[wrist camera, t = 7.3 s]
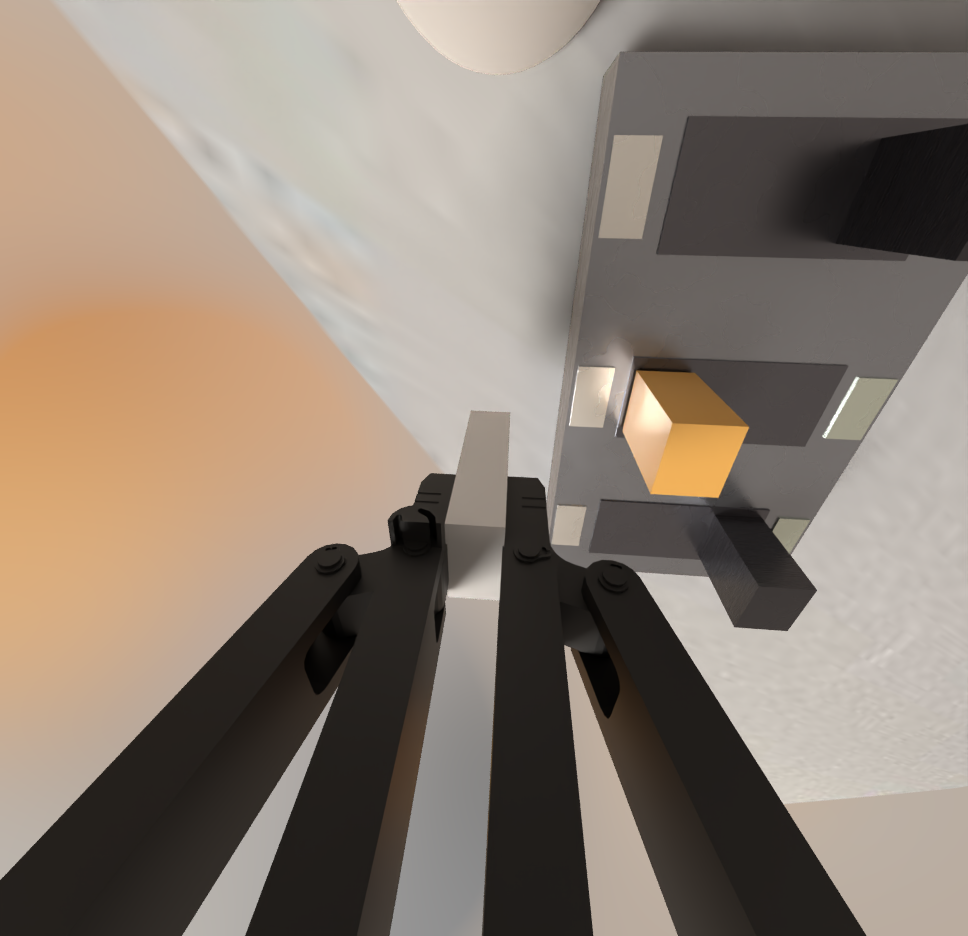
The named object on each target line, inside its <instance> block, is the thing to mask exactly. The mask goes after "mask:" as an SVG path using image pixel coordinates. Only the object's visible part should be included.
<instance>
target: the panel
mask: <svg viewBox="0 0 968 936" xmlns="http://www.w3.org/2000/svg"><path fill="white" fill-rule="evenodd" d="M967 274H968V52H620V53H619V54H618V56H617V57H616V59H615V60H614V61H613V63H612V64H611V66H610V67H609V69H608V70H607V72H606V73H605V75H604V76H603V82H602V90H601V97H600V105H599V112H598V120H597V128H596V135H595V143H594V150H593V158H592V165H591V173H590V180H589V188H588V195H587V203H586V210H585V218H584V225H583V233H582V240H581V248H580V255H579V263H578V270H577V278H576V285H575V293H574V300H573V308H572V315H571V323H570V330H569V338H568V345H567V353H566V360H565V368H564V375H563V383H562V390H561V398H560V405H559V413H558V421H557V428H556V436H555V443H554V451H553V458H552V466H551V473H550V481H549V488H548V496H547V503H546V506H547V516H548V527H549V538H550V543H551V547H552V548H553V550H554V552H555V553H556V554H557V555H558V556H560V557H561V558H563V559H564V560H566V561H568V562H570V563H572V564H575V565H578V566H581V567H584V568H587V567H589V566H590V565H591V564H592V563H593V562H596V561H600V560H613V561H617V562H620V563H623V564H625V565H626V566H628V567H630V568H631V569H633V570H634V571H635V572H645V573H660V574H675V575H690V576H705V577H709V578H710V580H711V582H712V584H713V586H714V588H715V590H716V592H717V594H718V596H719V598H720V600H721V602H722V604H723V606H724V608H725V610H726V612H727V613H728V615H729V617H730V619H731V621H732V623H733V625H734V627H739V628H753V629H767V630H781V631H788V629H789V628H790V627H791V625H792V624H793V623H794V621H795V620H796V619H797V617H798V616H799V614H800V613H801V612H802V610H803V609H804V608H805V606H806V605H807V603H808V602H809V601H810V599H811V598H812V597H813V595H814V594H815V593H816V591H817V589H816V588H815V587H814V586H813V584H812V583H811V582H810V580H809V579H808V578H807V576H806V575H805V574H804V572H803V571H802V570H801V568H800V567H799V566H798V564H797V563H796V562H795V561H794V559H793V558H792V557H791V554H792V552H793V551H794V549H795V547H796V546H797V544H798V543H799V541H800V539H801V538H802V536H803V535H804V533H805V531H806V530H807V528H808V527H809V525H810V524H811V522H812V520H813V519H814V517H815V516H816V514H817V512H818V511H819V509H820V508H821V506H822V504H823V503H824V501H825V500H826V498H827V497H828V495H829V493H830V492H831V490H832V489H833V487H834V485H835V484H836V482H837V481H838V479H839V477H840V476H841V474H842V473H843V471H844V469H845V468H846V466H847V465H848V463H849V462H850V460H851V458H852V457H853V455H854V454H855V452H856V450H857V449H858V447H859V446H860V444H861V442H862V441H863V439H864V438H865V436H866V435H867V433H868V431H869V430H870V428H871V427H872V425H873V423H874V422H875V420H876V419H877V417H878V415H879V414H880V412H881V411H882V409H883V408H884V406H885V404H886V403H887V401H888V400H889V398H890V396H891V395H892V393H893V392H894V390H895V388H896V387H897V385H898V384H899V382H900V380H901V379H902V377H903V376H904V374H905V373H906V371H907V369H908V368H909V366H910V365H911V363H912V361H913V360H914V358H915V357H916V355H917V353H918V352H919V350H920V349H921V347H922V346H923V344H924V342H925V341H926V339H927V338H928V336H929V334H930V333H931V331H932V330H933V328H934V326H935V325H936V323H937V322H938V320H939V319H940V317H941V315H942V314H943V312H944V311H945V309H946V307H947V306H948V304H949V303H950V301H951V299H952V298H953V296H954V295H955V293H956V291H957V290H958V288H959V287H960V285H961V284H962V282H963V280H964V279H965V277H966V276H967ZM636 371H661V372H686V373H695V374H696V375H698V376H699V377H700V378H701V379H702V380H703V381H704V382H705V383H706V384H707V385H708V386H709V387H710V388H711V389H712V390H713V391H714V392H715V393H716V394H717V395H718V396H719V397H720V398H721V399H722V400H723V401H724V402H725V403H726V404H727V405H728V406H729V407H730V408H731V409H732V410H733V411H734V412H735V413H736V414H737V415H738V416H739V417H740V418H741V419H742V420H743V421H744V422H745V423H746V424H747V425H748V426H749V429H748V431H747V433H746V436H745V438H744V440H743V443H742V445H741V447H740V449H739V452H738V454H737V456H736V459H735V461H734V463H733V465H732V468H731V470H730V472H729V475H728V477H727V479H726V481H725V484H724V486H723V488H722V491H721V493H720V495H719V497H718V498H713V497H696V496H678V495H660V494H650V492H649V489H648V487H647V485H646V483H645V480H644V478H643V476H642V474H641V471H640V469H639V467H638V465H637V462H636V460H635V458H634V456H633V453H632V451H631V449H630V447H629V444H628V442H627V440H626V438H625V435H624V433H623V431H622V430H623V426H624V421H625V417H626V413H627V409H628V405H629V400H630V396H631V392H632V388H633V384H634V379H635V375H636Z"/></svg>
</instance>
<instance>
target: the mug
mask: <svg viewBox="0 0 968 936" xmlns="http://www.w3.org/2000/svg"><path fill="white" fill-rule="evenodd" d="M396 1H397V2H398V4H399V6H400V7H401V9H402V10H403V12H404V13H405V15H406V16H407V18H408V19H409V20H410V22H411V23H412V24H413V26H414V27H415V28H416V29H417V31H418V32H419V33H420V34H421V36H422V37H423V38H424V39H425V40H426V41H427V42H428V43H429V44H430V45H431V46H432V47H433V48H434V49H435V50H437V51H438V52H439V53H440V54H442V55H443V56H444V57H446V58H447V59H448V60H450V61H452V62H454V63H456V64H457V65H459V66H461V67H463V68H466V69H469V70H472V71H475V72H478V73H484V74H490V75H506V74H511V73H516V72H521V71H524V70H526V69H529V68H531V67H534V66H536V65H538V64H539V63H541V62H543V61H545V60H546V59H548V58H550V57H551V56H552V55H554V54H555V53H556V52H557V51H559V50H560V49H561V48H562V47H564V46H565V45H566V44H567V43H568V42H569V41H570V40H571V39H572V38H573V37H574V36H575V35H576V34H577V33H578V32H579V30H580V29H581V28H582V26H583V25H584V24H585V22H586V21H587V20H588V19H589V17H590V16H591V15H592V13H593V11H594V10H595V8H596V6H597V5H598V3H599V2H600V0H396Z"/></svg>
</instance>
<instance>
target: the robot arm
mask: <svg viewBox="0 0 968 936" xmlns="http://www.w3.org/2000/svg"><path fill="white" fill-rule="evenodd" d="M509 427H510V413H509V412H487V411H471V413H470V417H469V422H468V426H467V430H466V434H465V439H464V443H463V447H462V452H461V456H460V460H459V464H458V469H457V473H456V475H453V474H434V473H431V474H429V475H428V476H427V477H426V478H425V479H424V480H423V481H422V482H421V485H420V488H419V490H418V494H417V496H416V499H415V503H414V504H413V506H407V507H404V508H401V509H399V510H397V511H396V512H394V513H393V514H392V515H391V516H390V518H389V519H388V526H389V533H390V540H391V547H389V548H386V549H384V550H381V551H378V552H373V553H368V554H363V555H358V553H357V552H356V550H355V549H354V548H353V547H351V546H348V545H346V544H331V545H326V546H324V547H321V548H319V549H317V550H315V551H314V552H313V553H312V554H310V555H309V556H307V558H306V559H305V560H304V561H303V562H302V563H301V564H300V565H299V566H298V567H297V568H296V569H295V570H294V571H293V572H292V573H291V574H290V575H289V577H288V578H287V579H286V580H285V581H284V582H283V583H282V584H281V585H280V586H279V587H278V588H277V589H276V590H275V591H274V592H273V593H272V595H271V596H270V597H269V598H268V599H267V600H266V601H265V602H264V603H263V604H262V605H261V606H260V607H259V608H258V609H257V610H256V611H255V612H254V614H252V616H251V617H250V618H249V619H248V620H247V621H246V622H245V623H244V624H243V625H242V626H241V627H240V628H239V629H238V630H237V631H236V632H235V633H234V634H233V636H232V637H231V638H230V639H229V640H228V641H227V642H226V643H225V644H224V645H223V646H222V647H221V648H220V649H219V650H218V651H217V652H216V653H215V655H214V656H213V657H212V658H211V659H210V660H209V661H208V662H207V663H206V664H205V665H204V666H203V667H202V668H201V669H200V670H199V671H198V672H197V674H196V675H195V676H194V677H193V678H192V679H191V680H190V681H189V682H188V683H187V684H186V685H185V686H184V687H183V688H182V689H181V691H179V692H178V694H177V695H176V696H175V697H174V698H173V699H172V700H171V701H170V702H169V703H168V704H167V705H166V706H165V707H164V708H163V709H162V710H161V711H160V713H159V714H158V715H157V716H156V717H155V718H154V719H153V720H152V721H151V722H150V723H149V724H148V725H147V726H146V727H145V728H144V729H143V730H142V731H141V732H140V734H139V735H138V736H137V737H136V738H135V739H134V740H133V741H132V742H131V743H130V744H129V745H128V746H127V747H126V748H125V749H124V750H123V751H122V753H121V754H120V755H119V756H118V757H117V758H116V759H115V760H114V761H113V762H112V763H111V764H110V765H109V766H108V767H107V768H106V769H105V770H104V771H103V773H102V774H101V775H100V776H99V777H98V778H97V779H96V780H95V781H94V782H93V783H92V784H91V785H90V786H89V787H88V788H87V789H86V790H85V792H84V793H83V794H82V795H81V796H80V797H79V798H78V799H77V800H76V801H75V802H74V803H73V804H72V805H71V806H70V808H68V809H67V810H66V812H65V813H64V814H63V815H62V816H61V817H60V818H59V819H58V820H57V821H56V822H55V823H54V824H53V825H52V826H51V827H50V829H48V831H47V832H46V833H45V834H44V835H43V836H42V837H41V838H40V839H39V840H38V841H37V842H36V843H35V844H34V845H33V846H32V847H31V848H30V850H29V851H28V852H27V853H26V854H25V855H24V856H23V857H22V858H21V859H20V860H19V861H18V862H17V863H16V864H15V866H13V867H12V868H11V870H10V871H9V872H8V873H7V874H6V875H5V876H4V877H3V878H2V879H1V880H0V936H182V935H183V933H184V932H185V930H186V928H187V927H188V925H189V924H190V922H191V920H192V919H193V917H194V916H195V914H196V912H197V911H198V909H199V908H200V906H201V904H202V902H203V901H204V899H205V898H206V896H207V895H208V893H209V892H210V890H211V889H212V887H213V885H214V884H215V882H216V881H217V879H218V877H219V876H220V874H221V873H222V871H223V869H224V868H225V866H226V865H227V863H228V861H229V860H230V858H231V856H232V855H233V853H234V852H235V850H236V849H237V847H238V845H239V844H240V842H241V841H242V839H243V837H244V836H245V834H246V833H247V831H248V829H249V827H250V826H251V824H252V823H253V821H254V819H255V818H256V816H257V815H258V813H259V812H260V810H261V809H262V807H263V805H264V804H265V802H266V801H267V799H268V797H269V796H270V794H271V793H272V791H273V789H274V788H275V786H276V785H277V783H278V781H279V780H280V778H281V777H282V775H283V773H284V772H285V770H286V769H287V767H288V766H289V764H290V762H291V761H292V759H293V757H294V756H295V754H296V753H297V751H298V750H299V748H300V746H301V745H302V743H303V741H304V740H305V738H306V737H307V735H308V734H309V732H310V730H311V729H312V727H313V725H314V724H315V722H316V721H317V719H318V718H319V716H320V714H321V713H322V711H323V710H324V708H325V706H326V705H327V703H328V702H329V700H330V698H331V697H332V695H333V694H334V692H335V690H336V689H337V687H338V689H337V691H336V694H335V697H334V699H333V702H332V705H331V707H330V711H329V713H328V716H327V718H326V721H325V724H324V726H323V729H322V732H321V735H320V737H319V740H318V742H317V745H316V748H315V751H314V753H313V756H312V758H311V761H310V764H309V767H308V769H307V772H306V774H305V777H304V780H303V782H302V785H301V788H300V790H299V793H298V796H297V799H296V801H295V804H294V807H293V810H292V812H291V815H290V817H289V820H288V823H287V825H286V828H285V831H284V833H283V836H282V839H281V842H280V844H279V847H278V849H277V852H276V855H275V858H274V860H273V863H272V865H271V868H270V871H269V874H268V876H267V879H266V882H265V884H264V887H263V890H262V893H261V895H260V898H259V900H258V903H257V906H256V908H255V911H254V914H253V917H252V919H251V922H250V924H249V927H248V930H247V932H246V935H245V936H389V935H390V929H391V923H392V918H393V912H394V906H395V900H396V895H397V889H398V884H399V877H400V872H401V866H402V861H403V855H404V849H405V843H406V837H407V832H408V827H409V820H410V815H411V810H412V803H413V798H414V792H415V786H416V781H417V775H418V769H419V764H420V758H421V753H422V747H423V741H424V735H425V729H426V724H427V718H428V713H429V706H430V701H431V696H432V690H433V684H434V678H435V673H436V667H437V661H438V655H439V649H440V644H441V638H442V633H443V627H444V621H445V616H446V608H445V600H446V595H447V590H448V597H456V598H470V599H485V600H499V601H500V602H499V619H498V637H497V657H496V676H495V696H494V714H493V733H492V752H491V754H492V755H491V771H490V791H489V811H488V829H487V848H486V867H485V887H484V907H483V925H482V936H593V929H592V919H591V908H590V899H589V890H588V879H587V869H586V859H585V849H584V839H583V829H582V819H581V810H580V800H579V790H578V779H577V770H576V760H575V750H574V740H573V730H572V720H571V710H570V701H569V690H568V681H567V671H566V661H565V652H564V651H565V650H564V645H566V646H568V647H571V651H572V654H573V656H574V659H575V662H576V664H577V667H578V670H579V673H580V675H581V678H582V680H583V683H584V686H585V689H586V691H587V694H588V697H589V699H590V702H591V705H592V707H593V710H594V713H595V715H596V718H597V721H598V723H599V726H600V729H601V731H602V734H603V736H604V739H605V742H606V745H607V747H608V750H609V752H610V755H611V758H612V760H613V763H614V766H615V769H616V771H617V774H618V777H619V779H620V782H621V785H622V787H623V790H624V792H625V795H626V798H627V801H628V803H629V806H630V809H631V811H632V814H633V817H634V819H635V822H636V825H637V827H638V830H639V832H640V835H641V838H642V840H643V843H644V846H645V849H646V851H647V854H648V857H649V859H650V862H651V865H652V867H653V870H654V873H655V875H656V878H657V881H658V883H659V886H660V889H661V891H662V894H663V897H664V899H665V902H666V905H667V907H668V910H669V913H670V915H671V918H672V921H673V923H674V926H675V929H676V931H677V934H678V936H866V934H865V933H864V931H863V929H862V928H861V926H860V925H859V923H858V922H857V920H856V918H855V917H854V915H853V914H852V912H851V911H850V909H849V907H848V906H847V904H846V903H845V901H844V900H843V898H842V896H841V895H840V893H839V892H838V890H837V889H836V887H835V885H834V884H833V882H832V881H831V879H830V877H829V876H828V874H827V873H826V871H825V869H824V868H823V866H822V865H821V863H820V862H819V860H818V858H817V857H816V855H815V854H814V852H813V850H812V849H811V847H810V846H809V844H808V843H807V841H806V840H805V838H804V836H803V835H802V833H801V832H800V830H799V828H798V827H797V826H796V824H795V822H794V821H793V819H792V817H791V816H790V814H789V813H788V811H787V809H786V808H785V806H784V805H783V803H782V801H781V800H780V798H779V797H778V795H777V794H776V792H775V790H774V789H773V787H772V786H771V784H770V782H769V781H768V779H767V778H766V776H765V775H764V773H763V771H762V770H761V768H760V767H759V765H758V764H757V762H756V760H755V759H754V757H753V756H752V754H751V752H750V751H749V749H748V748H747V746H746V745H745V743H744V741H743V740H742V738H741V737H740V735H739V733H738V732H737V730H736V729H735V727H734V726H733V724H732V722H731V721H730V719H729V718H728V716H727V715H726V713H725V711H724V710H723V708H722V707H721V705H720V703H719V702H718V700H717V699H716V697H715V696H714V694H713V692H712V691H711V689H710V688H709V686H708V684H707V683H706V681H705V680H704V678H703V677H702V675H701V673H700V672H699V670H698V669H697V667H696V666H695V664H694V662H693V661H692V659H691V658H690V656H689V654H688V653H687V651H686V650H685V648H684V647H683V645H682V643H681V642H680V640H679V639H678V637H677V635H676V634H675V632H674V631H673V629H672V628H671V626H670V624H669V623H668V621H667V620H666V618H665V617H664V615H663V613H662V612H661V610H660V609H659V607H658V605H657V604H656V602H655V601H654V599H653V598H652V596H651V594H650V593H649V591H648V590H647V588H646V586H645V585H644V583H643V582H642V580H641V579H640V577H639V576H638V575H637V574H636V573H635V571H634V570H633V569H631V568H630V567H628V566H626V565H625V564H623V563H620V562H617V561H613V560H600V561H596V562H593V563H592V564H591V565H590V566H589V567H587V568H584V567H581V566H578V565H575V564H572V563H570V562H568V561H566V560H564V559H563V558H561V557H560V556H558V555H557V554H556V553H555V552H554V550H553V548H552V547H551V543H550V538H549V527H548V516H547V506H546V495H545V487H544V486H543V485H542V483H541V482H540V481H539V479H538V478H526V477H508V451H509Z"/></svg>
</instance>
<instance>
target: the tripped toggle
mask: <svg viewBox="0 0 968 936" xmlns="http://www.w3.org/2000/svg"><path fill="white" fill-rule="evenodd" d="M748 429H749V426H748V425H747V424H746V423H745V422H744V421H743V420H742V419H741V418H740V417H739V416H738V415H737V414H736V413H735V412H734V411H733V410H732V409H731V408H730V407H729V406H728V405H727V404H726V403H725V402H724V401H723V400H722V399H721V398H720V397H719V396H718V395H717V394H716V393H715V392H714V391H713V390H712V389H711V388H710V387H709V386H708V385H707V384H706V383H705V382H704V381H703V380H702V379H701V378H700V377H699V376H698V375H696V374H695V373H686V372H661V371H636V375H635V379H634V384H633V388H632V392H631V396H630V400H629V405H628V409H627V413H626V417H625V421H624V426H623V430H622V431H623V433H624V435H625V438H626V440H627V442H628V444H629V447H630V449H631V451H632V453H633V456H634V458H635V460H636V462H637V465H638V467H639V469H640V471H641V474H642V476H643V478H644V480H645V483H646V485H647V487H648V489H649V492H650V494H660V495H678V496H696V497H713V498H718V497H719V495H720V493H721V491H722V488H723V486H724V484H725V481H726V479H727V477H728V475H729V472H730V470H731V468H732V465H733V463H734V461H735V459H736V456H737V454H738V452H739V449H740V447H741V445H742V443H743V440H744V438H745V436H746V433H747V431H748Z"/></svg>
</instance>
